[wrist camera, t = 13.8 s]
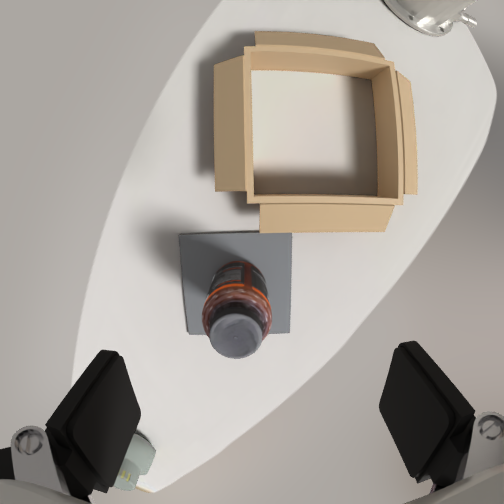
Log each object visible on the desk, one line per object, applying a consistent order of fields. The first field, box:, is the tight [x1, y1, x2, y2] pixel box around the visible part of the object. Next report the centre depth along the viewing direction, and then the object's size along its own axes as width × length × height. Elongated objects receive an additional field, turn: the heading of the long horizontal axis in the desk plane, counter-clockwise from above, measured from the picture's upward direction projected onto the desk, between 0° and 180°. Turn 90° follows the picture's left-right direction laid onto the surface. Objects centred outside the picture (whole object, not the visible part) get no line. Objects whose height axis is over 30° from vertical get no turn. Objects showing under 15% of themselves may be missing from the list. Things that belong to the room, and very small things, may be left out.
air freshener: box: [113, 433, 156, 491], centre depth 34 cm, size 11×8×10 cm
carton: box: [214, 31, 417, 233], centre depth 26 cm, size 21×21×5 cm
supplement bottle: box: [202, 261, 272, 359], centre depth 26 cm, size 6×6×11 cm
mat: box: [179, 232, 292, 335], centre depth 32 cm, size 12×12×1 cm
